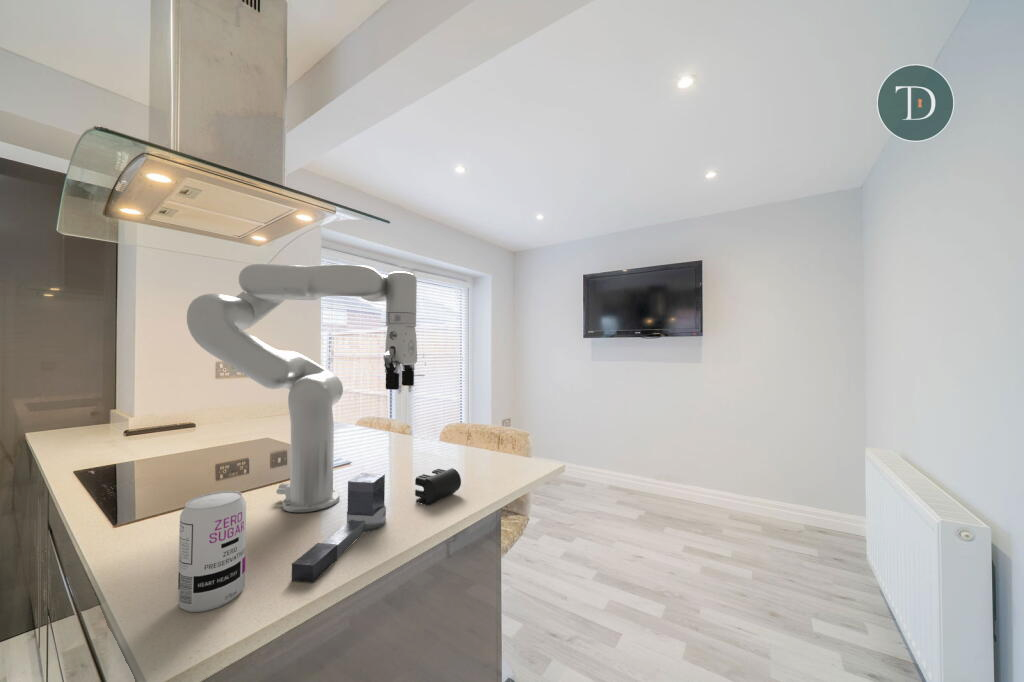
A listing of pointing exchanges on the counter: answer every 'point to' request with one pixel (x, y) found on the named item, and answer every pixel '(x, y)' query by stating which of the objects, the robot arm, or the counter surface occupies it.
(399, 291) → the robot arm
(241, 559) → the supplement can
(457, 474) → the end cap
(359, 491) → the socket
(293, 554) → the counter surface
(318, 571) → the ratchet
